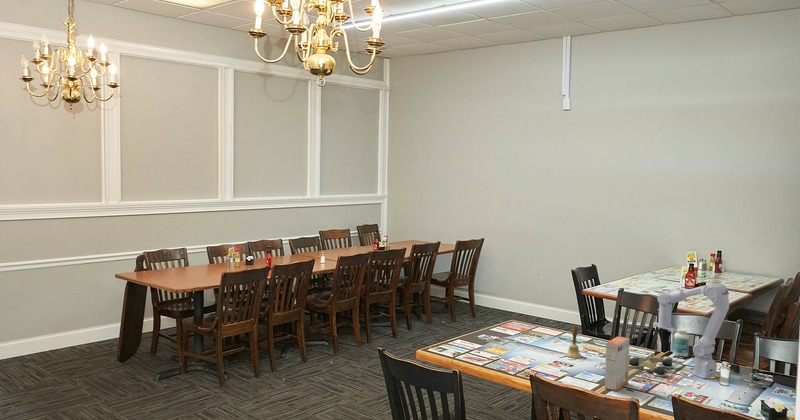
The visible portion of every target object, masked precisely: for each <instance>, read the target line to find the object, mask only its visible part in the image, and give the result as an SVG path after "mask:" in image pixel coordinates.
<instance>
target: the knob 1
mask: <svg viewBox="0 0 800 420" xmlns="http://www.w3.org/2000/svg"><path fill="white" fill-rule="evenodd" d="M629 364H630V365H635V366H637V365H640V357H639V356H637V355H629Z"/></svg>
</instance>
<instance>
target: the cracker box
mask: <svg viewBox="0 0 800 420" xmlns="http://www.w3.org/2000/svg"><path fill="white" fill-rule="evenodd" d="M629 357H630V338H629V337H624V336H616V337H614V338H612V339H610V340H609V341H607V342H606V343H605V368H604V369H605V373H604V389H606V390H610V391H616V392H618V391H619V390H620V389H622V388H623V387H625V386H626V385H627V384H629V370H630V367H629Z"/></svg>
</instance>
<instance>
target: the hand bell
mask: <svg viewBox="0 0 800 420" xmlns="http://www.w3.org/2000/svg"><path fill="white" fill-rule="evenodd" d="M571 334H572V343H571V344H569V346H568V347H569V348H568V351H567V352H566V353H565V354H564V355H565V357H567V358H570V359H581V358H582V357H583V355H581V353H580V348H579V346H578V345H577V337H578V336H577V335H578V326H577V325H573V327H572V332H571Z"/></svg>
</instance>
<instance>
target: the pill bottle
mask: <svg viewBox="0 0 800 420" xmlns="http://www.w3.org/2000/svg"><path fill="white" fill-rule="evenodd" d="M687 333H688V330H687V329H684V328H677V329H676V333H673V343H672V344H673V346H672V354H673V355H674V354H675V355H674V356H676V355H677V356H676V357H681V356H683V358H684V357H689V350H690V349H689V348H690V336H689V334H687ZM678 355H680V356H678Z"/></svg>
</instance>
